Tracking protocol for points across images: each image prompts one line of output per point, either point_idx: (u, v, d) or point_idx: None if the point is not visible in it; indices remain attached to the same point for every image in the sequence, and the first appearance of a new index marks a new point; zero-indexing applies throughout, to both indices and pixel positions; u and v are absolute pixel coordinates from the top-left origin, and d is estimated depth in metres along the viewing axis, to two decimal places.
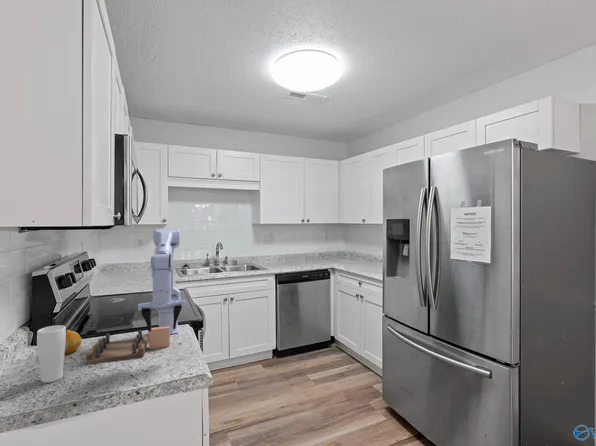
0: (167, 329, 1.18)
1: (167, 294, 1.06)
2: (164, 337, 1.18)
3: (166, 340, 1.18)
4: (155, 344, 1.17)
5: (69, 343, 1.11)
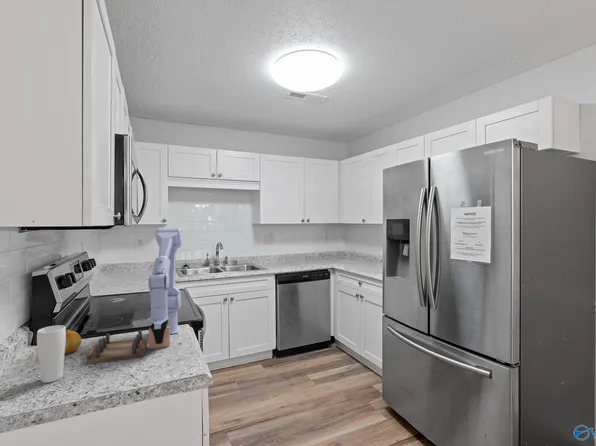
0: (167, 329, 1.18)
1: (152, 311, 1.16)
2: (164, 337, 1.18)
3: (166, 340, 1.18)
4: (155, 344, 1.17)
5: (69, 343, 1.11)
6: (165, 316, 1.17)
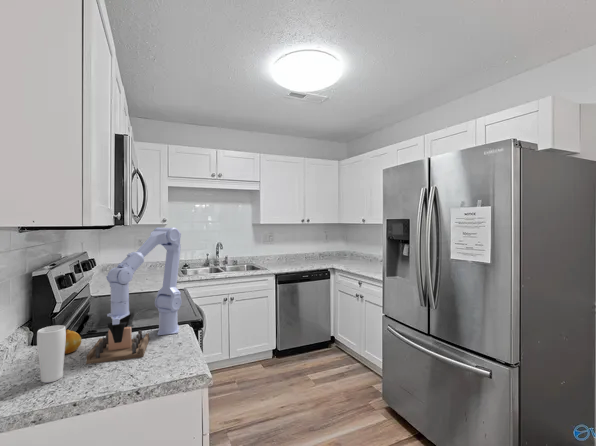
0: (128, 330, 1.14)
1: (112, 306, 1.12)
2: (125, 338, 1.14)
3: (126, 341, 1.14)
4: (115, 345, 1.13)
5: (69, 343, 1.11)
6: (126, 311, 1.13)
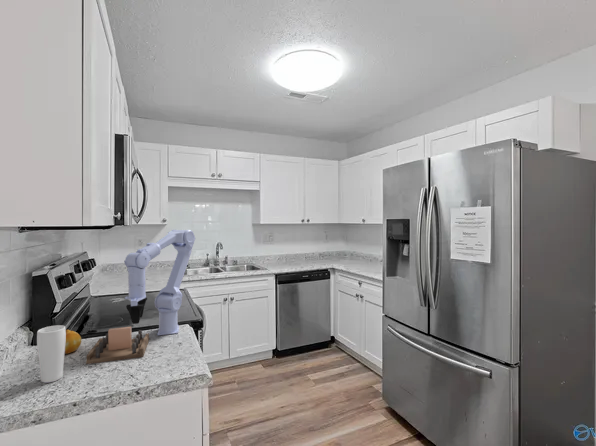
0: (128, 330, 1.14)
1: (129, 289, 1.17)
2: (125, 338, 1.14)
3: (126, 341, 1.14)
4: (115, 345, 1.13)
5: (69, 343, 1.11)
6: (143, 294, 1.19)
